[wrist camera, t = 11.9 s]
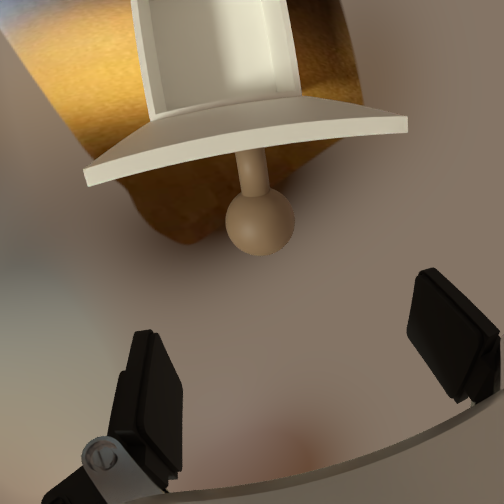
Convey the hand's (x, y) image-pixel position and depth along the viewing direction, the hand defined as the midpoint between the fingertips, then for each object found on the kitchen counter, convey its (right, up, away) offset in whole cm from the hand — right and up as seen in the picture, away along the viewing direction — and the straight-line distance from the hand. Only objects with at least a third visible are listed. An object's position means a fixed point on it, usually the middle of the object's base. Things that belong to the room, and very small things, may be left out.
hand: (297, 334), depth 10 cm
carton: (-6, +27, +20) cm, 34 cm away
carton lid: (-3, +12, +8) cm, 15 cm away
